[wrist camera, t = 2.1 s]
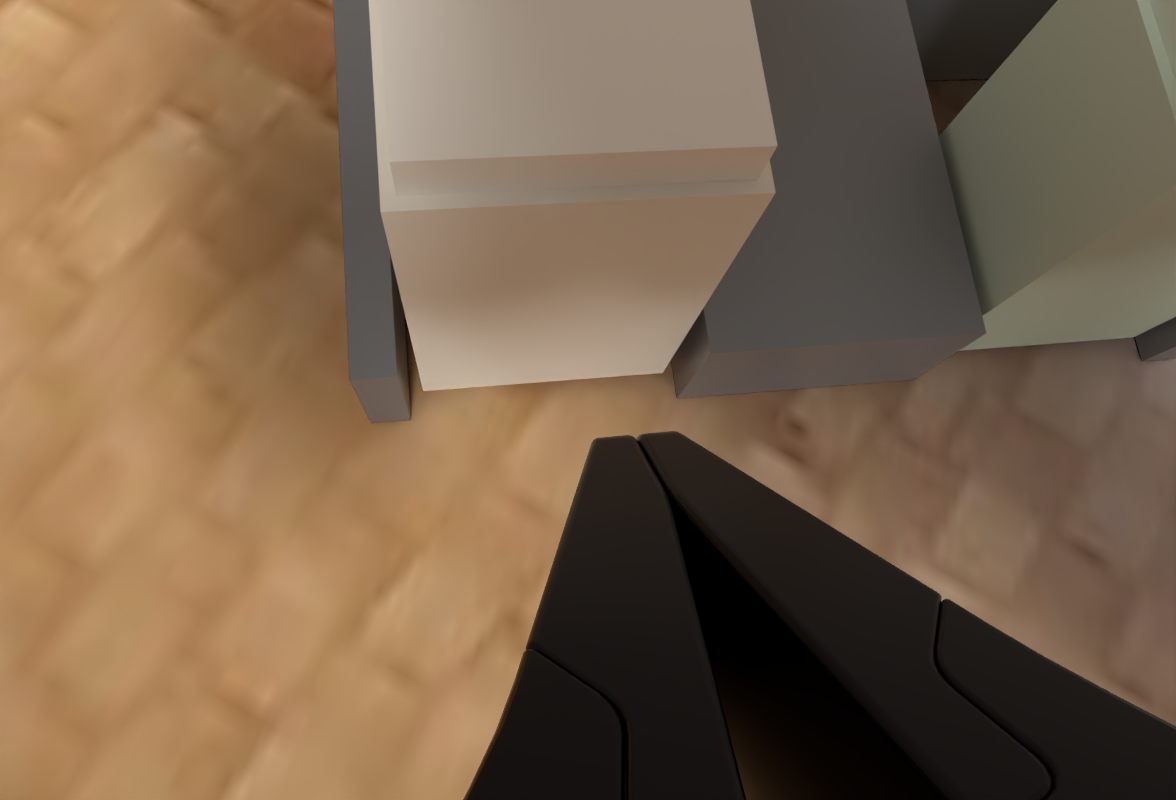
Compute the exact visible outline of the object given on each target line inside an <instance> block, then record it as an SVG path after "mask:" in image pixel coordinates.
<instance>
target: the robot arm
mask: <svg viewBox="0 0 1176 800" xmlns="http://www.w3.org/2000/svg"><path fill="white" fill-rule="evenodd" d="M463 800H1176V727H1175V726H1174V725H1172V724H1170V723H1168V722H1166V721H1164V720H1162V719H1160V718H1158V717H1156V716H1154V715H1152V714H1151V713H1149V712H1147V711H1145V710H1143V709H1141V708H1139V707H1137V706H1135V705H1133V704H1131V703H1129V702H1128V701H1126V700H1124V699H1122V698H1120V697H1118V696H1116V695H1114V694H1112V693H1110V692H1109V691H1107V690H1105V689H1103V688H1101V687H1099V686H1097V685H1096V684H1094V683H1092V682H1090V681H1088V680H1086V679H1085V678H1083V677H1081V676H1079V675H1077V674H1075V673H1074V672H1072V671H1070V670H1068V669H1066V668H1064V667H1062V666H1061V665H1059V664H1057V663H1055V662H1053V661H1051V660H1050V659H1048V658H1046V657H1044V656H1042V655H1041V654H1039V653H1037V652H1036V651H1034V650H1032V649H1030V648H1029V647H1027V646H1025V645H1024V644H1022V643H1020V642H1019V641H1017V640H1015V639H1014V638H1012V637H1010V636H1008V635H1007V634H1005V633H1003V632H1002V631H1000V630H998V629H997V628H995V627H993V626H992V625H990V624H988V623H986V622H985V621H983V620H982V619H980V618H978V617H977V616H975V615H973V614H972V613H970V612H969V611H967V610H965V609H964V608H962V607H961V606H959V605H957V604H956V603H954V602H952V601H951V600H949V599H944V600H943V601H942V602H941V595H940V594H939V593H937V592H936V591H934V590H933V589H931V588H929V587H928V586H926V585H925V584H923V583H921V582H920V581H918V580H916V579H915V578H913V577H912V576H910V575H908V574H907V573H905V572H904V571H902V570H900V569H899V568H897V567H895V566H894V565H892V564H891V563H889V562H887V561H886V560H884V559H883V558H881V557H879V556H878V555H876V554H874V553H873V552H871V551H870V550H868V549H866V548H865V547H863V546H862V545H860V544H858V543H857V542H855V541H853V540H852V539H850V538H849V537H847V536H845V535H844V534H842V533H841V532H839V531H837V530H836V529H834V528H832V527H831V526H829V525H828V524H826V523H824V522H823V521H821V520H820V519H818V518H816V517H815V516H813V515H812V514H810V513H808V512H807V511H805V510H803V509H802V508H800V507H799V506H797V505H795V504H794V503H792V502H791V501H789V500H787V499H786V498H784V497H782V496H781V495H779V494H778V493H776V492H774V491H773V490H771V489H770V488H768V487H766V486H765V485H763V484H761V483H760V482H758V481H757V480H755V479H753V478H752V477H750V476H749V475H747V474H745V473H744V472H742V471H740V470H739V469H737V468H736V467H734V466H732V465H731V464H729V463H728V462H726V461H724V460H723V459H721V458H719V457H718V456H716V455H715V454H713V453H711V452H710V451H708V450H707V449H705V448H703V447H702V446H700V445H699V444H697V443H695V442H694V441H692V440H690V439H689V438H687V437H686V436H684V435H682V434H680V433H678V432H674V431H670V432H659V433H648V434H642V435H639V436H638V437H637V439H635V438H634V437H632V436H629V435H626V436H614V437H603V438H596V439H595V440H593V442H592V443H591V446H590V449H589V452H588V456H587V459H586V462H585V465H584V468H583V471H582V474H581V477H580V480H579V484H578V487H577V490H576V493H575V496H574V499H573V502H572V505H571V508H570V512H569V515H568V518H567V521H566V524H565V527H564V530H563V533H562V536H561V540H560V543H559V546H558V549H557V552H556V555H555V558H554V561H553V564H552V568H551V571H550V574H549V577H548V580H547V583H546V586H545V589H544V592H543V596H542V599H541V602H540V605H539V608H538V611H537V614H536V617H535V620H534V624H533V627H532V630H531V633H530V636H529V639H528V642H527V646H526V651H525V652H524V653H523V656H522V659H521V662H520V665H519V668H518V672H517V675H516V678H515V681H514V684H513V686H512V689H511V692H510V695H509V697H508V700H507V703H506V705H505V708H504V711H503V713H502V716H501V719H500V721H499V724H498V727H497V729H496V732H495V734H494V736H493V738H492V741H491V743H490V745H489V747H488V749H487V751H486V753H485V756H484V758H483V760H482V762H481V764H480V766H479V768H478V771H477V773H476V775H475V777H474V779H473V781H472V783H471V786H470V788H469V789H468V791H467V793H466V795H465V797H464V799H463Z"/></svg>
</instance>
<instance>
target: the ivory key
mask: <svg viewBox="0 0 1176 800" xmlns="http://www.w3.org/2000/svg"><path fill="white" fill-rule="evenodd" d="M369 17H370V34H371V52H372V70H373V88H374V105H375V123H376V141H377V159H378V176H379V194H380V212H381V216H382V220H383V225H384V229H385V233H386V237H387V241H388V246H389V250H390V254H391V258H392V262H393V267H394V271H395V275H396V279H397V283H398V288H399V292H400V296H401V300H402V304H403V308H404V313H405V317H406V321H407V325H408V329H409V334H410V338H411V342H412V346H413V350H414V355H415V359H416V363H417V367H418V371H419V376H420V380H421V384H422V388H423V391H431V390H445V389H458V388H471V387H484V386H497V385H510V384H524V383H537V382H550V381H563V380H576V379H590V378H603V377H616V376H629V375H642V374H655V373H663V372H664V370H665V368H666V367H667V365H668V364H669V362H670V360H671V359H672V357H673V356H674V354H675V352H676V351H677V349H678V348H679V346H680V345H681V343H682V341H683V340H684V338H685V337H686V335H687V333H688V332H689V330H690V329H691V327H692V325H693V324H694V322H695V321H696V319H697V317H698V316H699V314H700V313H701V311H702V309H703V308H704V306H705V305H706V303H707V302H708V300H709V298H710V297H711V295H712V294H713V292H714V290H715V289H716V287H717V286H718V284H719V282H720V281H721V279H722V278H723V276H724V274H725V273H726V271H727V270H728V268H729V266H730V265H731V263H732V262H733V260H734V258H735V257H736V255H737V254H738V252H739V251H740V249H741V247H742V246H743V244H744V243H745V241H746V239H747V238H748V236H749V235H750V233H751V231H752V230H753V228H754V227H755V225H756V223H757V222H758V220H759V219H760V217H761V215H762V214H763V212H764V211H765V209H766V208H767V206H768V204H769V203H770V201H771V200H772V198H773V196H774V195H775V193H776V192H775V186H774V181H773V175H772V170H771V165H770V158H771V157H772V155H773V153H774V151H775V150H776V148H777V146H778V145H777V140H776V134H775V129H774V124H773V119H772V113H771V108H770V103H769V97H768V92H767V87H766V81H765V76H764V71H763V66H762V60H761V55H760V50H759V44H758V39H757V34H756V28H755V23H754V18H753V13H752V7H751V2H750V0H369Z"/></svg>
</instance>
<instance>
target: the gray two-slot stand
mask: <svg viewBox="0 0 1176 800" xmlns="http://www.w3.org/2000/svg"><path fill="white" fill-rule="evenodd" d="M1057 1H1058V0H750V2H751V7H752V13H753V18H754V23H755V28H756V34H757V39H758V44H759V50H760V55H761V60H762V66H763V71H764V76H765V81H766V87H767V92H768V97H769V103H770V108H771V113H772V119H773V124H774V129H775V134H776V140H777V145H778V146H777V148H776V150H775V151H774V153H773V155H772V157H771V158H770V165H771V170H772V175H773V181H774V186H775V192H776V193H775V195H774V196H773V198H772V200H771V201H770V203H769V204H768V206H767V208H766V209H765V211H764V212H763V214H762V215H761V217H760V219H759V220H758V222H757V223H756V225H755V227H754V228H753V230H752V231H751V233H750V235H749V236H748V238H747V239H746V241H745V243H744V244H743V246H742V247H741V249H740V251H739V252H738V254H737V255H736V257H735V258H734V260H733V262H732V263H731V265H730V266H729V268H728V270H727V271H726V273H725V274H724V276H723V278H722V279H721V281H720V282H719V284H718V286H717V287H716V289H715V290H714V292H713V294H712V295H711V297H710V298H709V300H708V302H707V303H706V305H705V306H704V308H703V309H702V311H701V313H700V314H699V316H698V317H697V319H696V321H695V322H694V324H693V325H692V327H691V329H690V330H689V332H688V333H687V335H686V337H685V338H684V340H683V341H682V343H681V345H680V346H679V348H678V349H677V351H676V352H675V354H674V356H673V357H672V359H671V362H672V369H673V376H674V383H675V390H676V396H677V399H680V398H692V397H705V396H717V395H730V394H742V393H755V392H767V391H779V390H792V389H804V388H817V387H829V386H842V385H854V384H867V383H879V382H892V381H904V380H914V379H916V378H917V377H919V376H921V375H922V374H924V373H925V372H927V371H928V370H930V369H931V368H933V367H935V366H936V365H938V364H939V363H941V362H942V361H944V360H945V359H947V358H949V357H950V356H952V355H953V354H955V353H956V352H958V351H960V350H961V349H963V348H964V347H966V346H967V345H969V344H970V343H972V342H974V341H975V340H977V339H978V338H980V337H981V336H983V335H984V334H986V329H985V325H984V321H983V317H982V313H981V308H980V304H979V300H978V296H977V292H976V288H975V284H974V280H973V276H972V271H971V267H970V263H969V259H968V255H967V251H966V247H965V243H964V238H963V234H962V230H961V226H960V222H959V218H958V214H957V210H956V206H955V201H954V197H953V193H952V189H951V185H950V181H949V177H948V173H947V168H946V164H945V160H944V156H943V152H942V148H941V144H940V140H939V136H938V131H937V127H936V123H935V119H934V115H933V111H932V107H931V103H930V98H929V94H928V90H927V86H926V82H925V81H928V80H960V79H989V78H990V77H991V76H992V75H993V74H994V73H995V71H996V70H997V69H998V68H999V67H1000V66H1001V65H1002V63H1003V62H1004V61H1005V60H1006V59H1007V58H1008V57H1009V55H1010V54H1011V53H1012V52H1013V51H1014V50H1015V49H1016V47H1017V46H1018V45H1019V44H1020V43H1021V42H1022V41H1023V39H1024V38H1025V37H1026V36H1027V35H1028V34H1029V33H1030V31H1031V30H1032V29H1033V28H1034V27H1035V26H1036V25H1037V23H1038V22H1039V21H1040V20H1041V19H1042V18H1043V17H1044V15H1045V14H1046V13H1047V12H1048V11H1049V10H1050V9H1051V7H1052V6H1053V5H1054V4H1055V3H1056V2H1057ZM333 13H334V36H335V59H336V82H337V104H338V127H339V150H340V173H341V195H342V218H343V241H344V264H345V286H346V309H347V332H348V355H349V377H350V382H351V384H352V386H353V388H354V390H355V392H356V394H357V396H358V398H359V400H360V402H361V404H362V406H363V408H364V410H365V412H366V414H367V416H368V418H369V420H370V422H371V423H380V422H392V421H405V420H411V413H410V397H409V381H408V365H407V349H406V333H405V317H404V308H403V304H402V300H401V296H400V292H399V288H398V283H397V279H396V275H395V271H394V267H393V262H392V258H391V254H390V250H389V246H388V241H387V237H386V233H385V229H384V225H383V220H382V216H381V212H380V194H379V176H378V159H377V141H376V123H375V105H374V88H373V70H372V52H371V34H370V17H369V0H333ZM1135 339H1136V342H1137V346H1138V349H1139V353H1140V356H1141V360H1142V361H1154V360H1167V359H1174V358H1176V317H1174V318H1172V319H1170V320H1168V321H1166V322H1164V323H1162V324H1160V325H1158V326H1156V327H1154V328H1152V329H1149V330H1147V331H1145V332H1143V333H1141V334H1139V335H1137V336H1135Z"/></svg>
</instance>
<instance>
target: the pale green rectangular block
mask: <svg viewBox="0 0 1176 800" xmlns="http://www.w3.org/2000/svg"><path fill="white" fill-rule="evenodd" d="M939 140H940V144H941V148H942V152H943V156H944V160H945V164H946V168H947V173H948V177H949V181H950V185H951V189H952V193H953V197H954V201H955V206H956V210H957V214H958V218H959V222H960V226H961V230H962V234H963V238H964V243H965V247H966V251H967V255H968V259H969V263H970V267H971V271H972V276H973V280H974V284H975V288H976V292H977V296H978V300H979V304H980V308H981V313H982V317H983V321H984V325H985V329H986V334H984V335H983V336H981V337H980V338H978V339H977V340H975V341H974V342H972V343H970V344H969V345H967V346H966V347H964V348H963V349H961V350H960V351H962V350H975V349H988V348H1001V347H1014V346H1028V345H1041V344H1054V343H1067V342H1080V341H1094V340H1107V339H1120V338H1133V337H1135V336H1137V335H1139V334H1141V333H1143V332H1145V331H1147V330H1149V329H1152V328H1154V327H1156V326H1158V325H1160V324H1162V323H1164V322H1166V321H1168V320H1170V319H1172V318H1174V317H1176V0H1058V1H1057V2H1056V3H1055V4H1054V5H1053V6H1052V7H1051V9H1050V10H1049V11H1048V12H1047V13H1046V14H1045V15H1044V17H1043V18H1042V19H1041V20H1040V21H1039V22H1038V23H1037V25H1036V26H1035V27H1034V28H1033V29H1032V30H1031V31H1030V33H1029V34H1028V35H1027V36H1026V37H1025V38H1024V39H1023V41H1022V42H1021V43H1020V44H1019V45H1018V46H1017V47H1016V49H1015V50H1014V51H1013V52H1012V53H1011V54H1010V55H1009V57H1008V58H1007V59H1006V60H1005V61H1004V62H1003V63H1002V65H1001V66H1000V67H999V68H998V69H997V70H996V71H995V73H994V74H993V75H992V76H991V77H990V78H989V79H988V81H987V82H986V83H985V84H984V85H983V86H982V87H981V89H980V90H979V91H978V92H977V93H976V94H975V95H974V97H973V98H972V99H971V100H970V101H969V102H968V103H967V105H966V106H965V107H964V108H963V109H962V110H961V112H960V113H959V114H958V115H957V116H956V117H955V118H954V120H953V121H952V122H951V123H950V124H949V125H948V126H947V128H946V129H945V130H944V131H943V132H942V133H941V134H940V136H939Z"/></svg>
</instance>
